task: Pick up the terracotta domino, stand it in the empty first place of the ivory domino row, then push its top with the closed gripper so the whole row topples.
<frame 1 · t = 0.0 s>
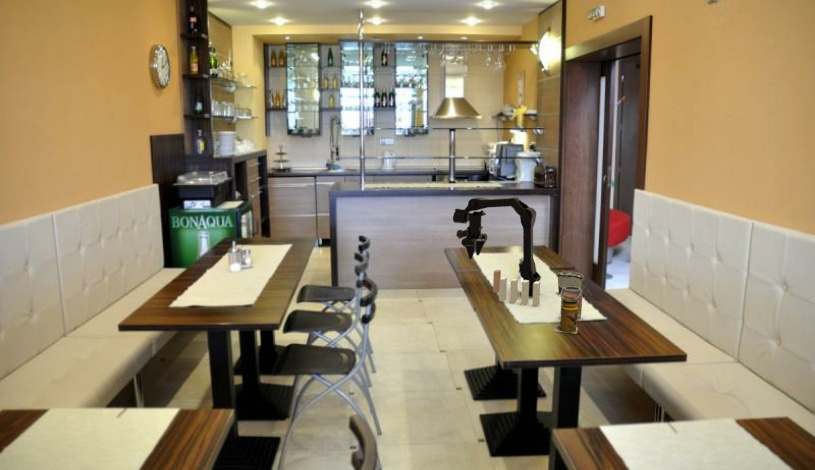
hand: (474, 257, 291), 15 cm above the table, tool pointing down, fingers open, 9 cm apart
domino 5: (535, 305, 266), on the table
domino 2: (502, 300, 272), on the table
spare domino: (496, 291, 286), on the table
condiment: (565, 330, 234), on the table
domino 4: (524, 303, 268), on the table
domino 3: (513, 301, 270), on the table
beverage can: (570, 317, 249), on the table
food container: (570, 294, 284), on the table
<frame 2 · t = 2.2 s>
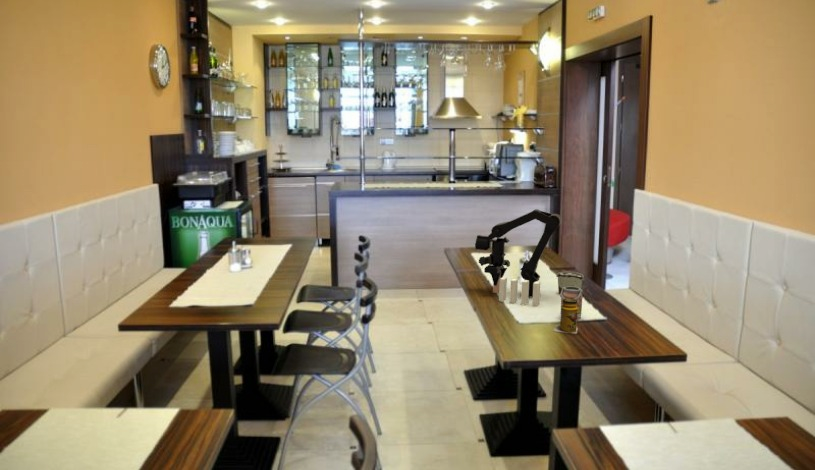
hand: (496, 284, 286), 4 cm above the table, tool pointing down, fingers closed on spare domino, 4 cm apart
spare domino: (496, 291, 286), on the table, touching gripper
everything else where it was.
when the fingers open (5 cm above the table, at t = 6.2 s): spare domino drops 1 cm, on the table.
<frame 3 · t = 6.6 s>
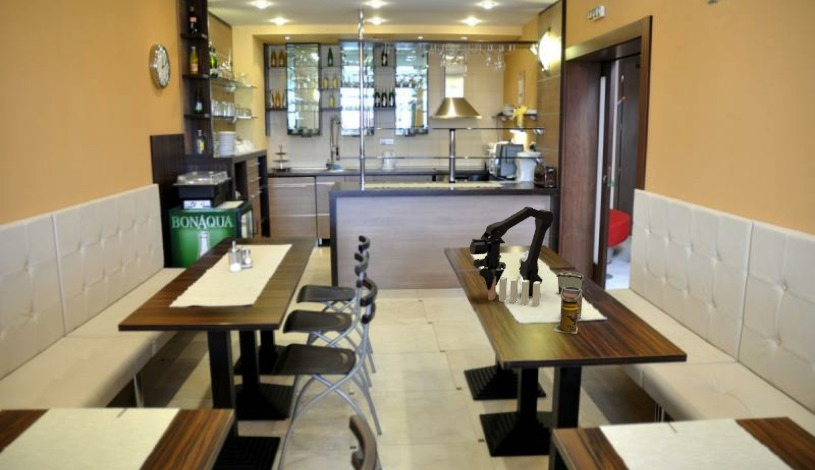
hand: (492, 287, 274), 5 cm above the table, tool pointing down, fingers open, 8 cm apart
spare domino: (491, 298, 275), on the table
everything else where it was.
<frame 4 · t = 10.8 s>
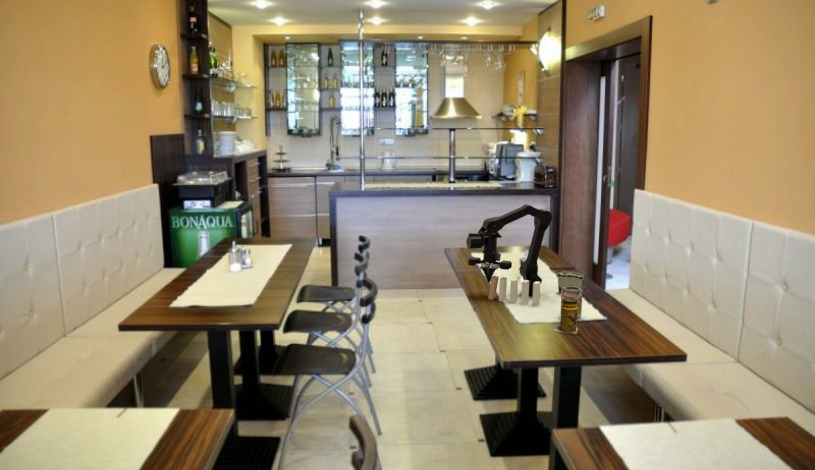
hand: (489, 282, 274), 7 cm above the table, tool pointing down, fingers closed
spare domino: (491, 298, 275), on the table, tilted 7°
everything else where it was.
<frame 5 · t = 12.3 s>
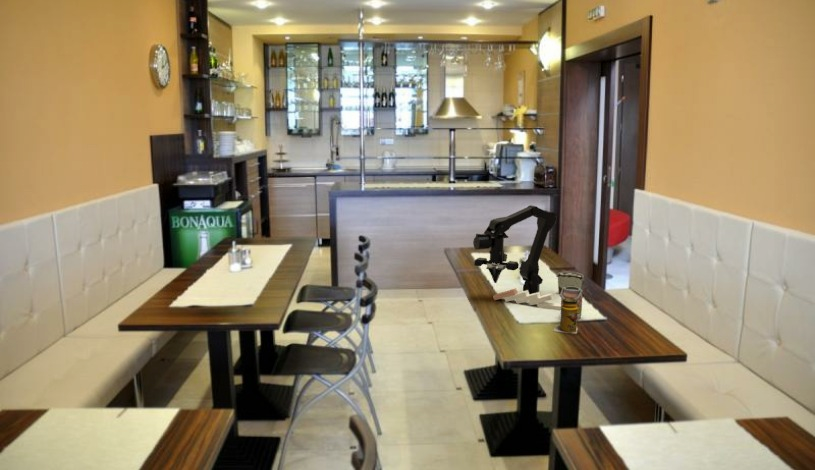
hand: (495, 282, 273), 8 cm above the table, tool pointing down, fingers closed
domino 5: (538, 304, 265), on the table, tilted 90°, touching domino 4
domino 2: (506, 298, 272), point 1 cm above the table, tilted 68°, touching domino 3, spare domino
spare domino: (495, 297, 274), point 1 cm above the table, tilted 68°, touching domino 2
domino 4: (530, 302, 266), point 1 cm above the table, tilted 67°, touching domino 5
domino 3: (517, 300, 269), point 1 cm above the table, tilted 68°, touching domino 2
everything else where it was.
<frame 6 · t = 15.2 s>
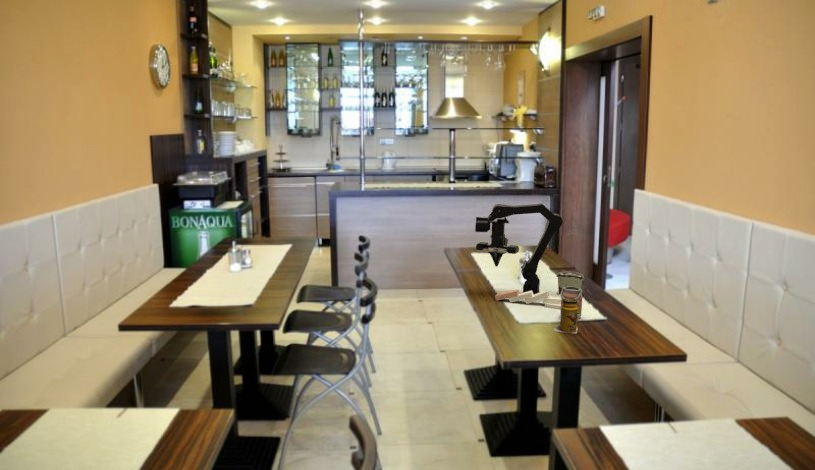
hand: (496, 266, 280), 13 cm above the table, tool pointing down, fingers closed
domino 5: (546, 304, 265), on the table, tilted 90°, touching domino 4
domino 2: (510, 299, 271), point 1 cm above the table, tilted 70°, touching domino 3, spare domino
domino 4: (543, 299, 266), point 2 cm above the table, tilted 89°, touching domino 3, domino 5
domino 3: (525, 301, 268), point 1 cm above the table, tilted 65°, touching domino 2, domino 4
at the end: domino 5 tilted 90°; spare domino tilted 71°; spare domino inside the target area (1.8 cm from its centre), point 0.9 cm above the table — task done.
